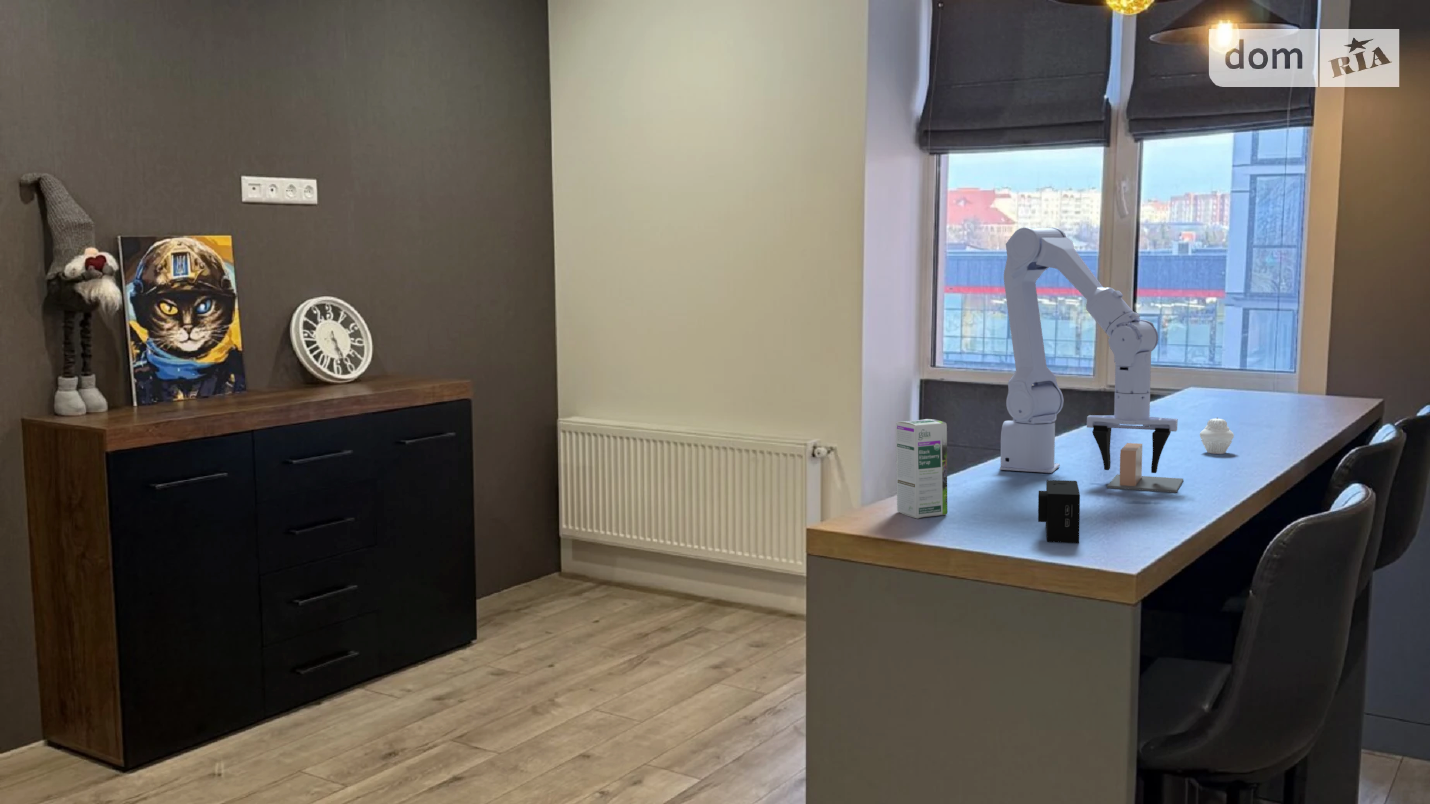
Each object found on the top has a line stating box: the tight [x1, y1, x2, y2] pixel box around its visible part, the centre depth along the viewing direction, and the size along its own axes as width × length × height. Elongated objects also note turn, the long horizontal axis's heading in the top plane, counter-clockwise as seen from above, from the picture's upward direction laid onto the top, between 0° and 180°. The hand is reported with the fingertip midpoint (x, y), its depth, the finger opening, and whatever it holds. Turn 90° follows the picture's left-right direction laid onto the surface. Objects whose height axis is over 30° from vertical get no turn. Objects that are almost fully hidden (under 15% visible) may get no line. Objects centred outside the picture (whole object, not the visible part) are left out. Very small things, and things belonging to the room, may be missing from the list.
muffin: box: [1199, 417, 1235, 455], centre depth 232 cm, size 6×6×7 cm
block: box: [1119, 442, 1143, 486], centre depth 203 cm, size 3×8×6 cm, turn 153°
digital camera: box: [1037, 479, 1081, 544], centre depth 169 cm, size 10×5×7 cm, turn 165°
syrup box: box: [895, 418, 948, 519], centre depth 183 cm, size 6×6×14 cm
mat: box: [1106, 473, 1184, 494], centre depth 203 cm, size 11×11×1 cm
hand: (1130, 470), depth 204 cm, fingers open, 7 cm apart
